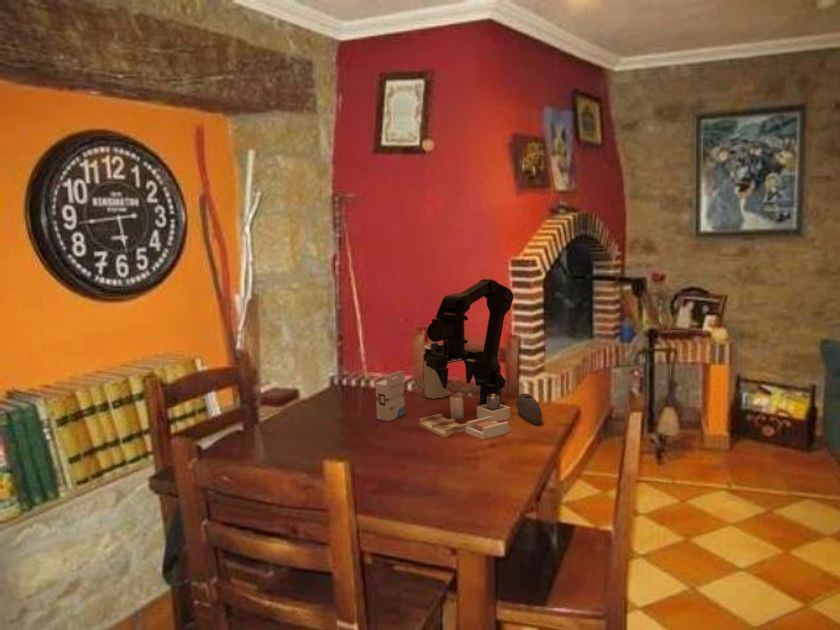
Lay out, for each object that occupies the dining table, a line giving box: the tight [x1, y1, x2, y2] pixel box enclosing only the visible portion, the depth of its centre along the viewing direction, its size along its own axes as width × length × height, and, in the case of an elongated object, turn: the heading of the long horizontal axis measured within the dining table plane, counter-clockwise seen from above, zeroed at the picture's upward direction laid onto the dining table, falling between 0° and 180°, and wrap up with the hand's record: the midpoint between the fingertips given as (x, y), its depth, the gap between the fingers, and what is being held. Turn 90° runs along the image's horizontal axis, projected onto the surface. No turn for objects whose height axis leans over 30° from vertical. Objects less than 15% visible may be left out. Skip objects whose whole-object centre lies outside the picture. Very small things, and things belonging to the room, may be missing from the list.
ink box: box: [374, 370, 406, 422], centre depth 206 cm, size 9×5×15 cm, turn 143°
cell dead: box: [487, 393, 500, 411], centre depth 200 cm, size 4×4×8 cm
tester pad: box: [476, 421, 495, 432], centre depth 188 cm, size 5×5×2 cm
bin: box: [476, 404, 511, 423], centre depth 201 cm, size 7×7×4 cm
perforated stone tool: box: [515, 392, 543, 426], centre depth 199 cm, size 15×5×7 cm, turn 9°
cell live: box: [449, 393, 464, 420], centre depth 203 cm, size 4×4×8 cm
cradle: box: [464, 416, 511, 440], centre depth 188 cm, size 10×8×4 cm
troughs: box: [417, 413, 467, 438], centre depth 194 cm, size 9×14×2 cm, turn 34°
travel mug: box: [423, 343, 448, 400], centre depth 228 cm, size 8×8×18 cm
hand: (456, 385), depth 202 cm, fingers open, 9 cm apart
